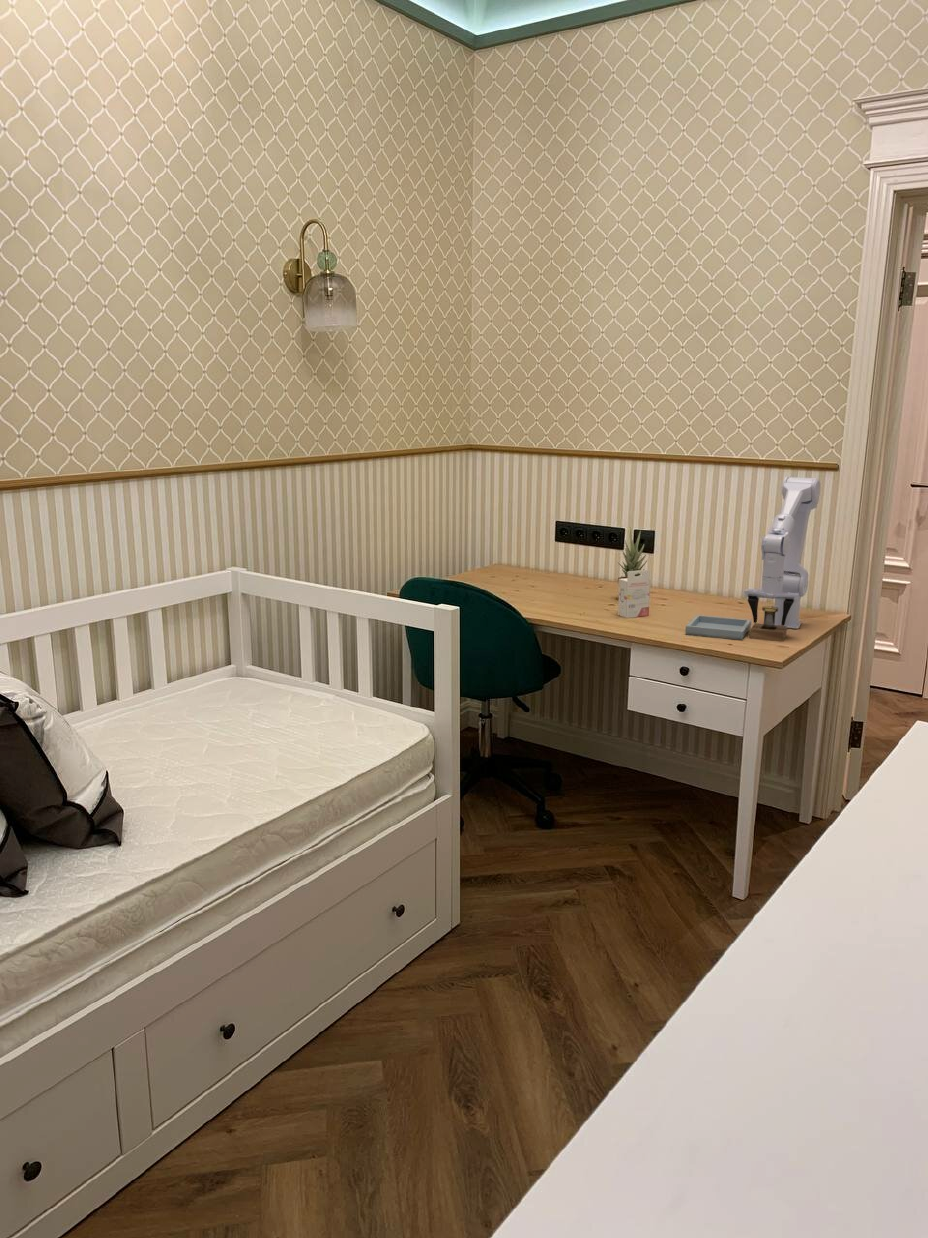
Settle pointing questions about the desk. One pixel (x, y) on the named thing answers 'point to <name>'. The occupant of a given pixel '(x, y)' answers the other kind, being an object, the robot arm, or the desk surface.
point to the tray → (718, 627)
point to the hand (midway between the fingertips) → (769, 623)
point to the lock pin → (769, 617)
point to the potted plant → (632, 557)
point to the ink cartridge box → (634, 594)
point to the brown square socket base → (768, 632)
